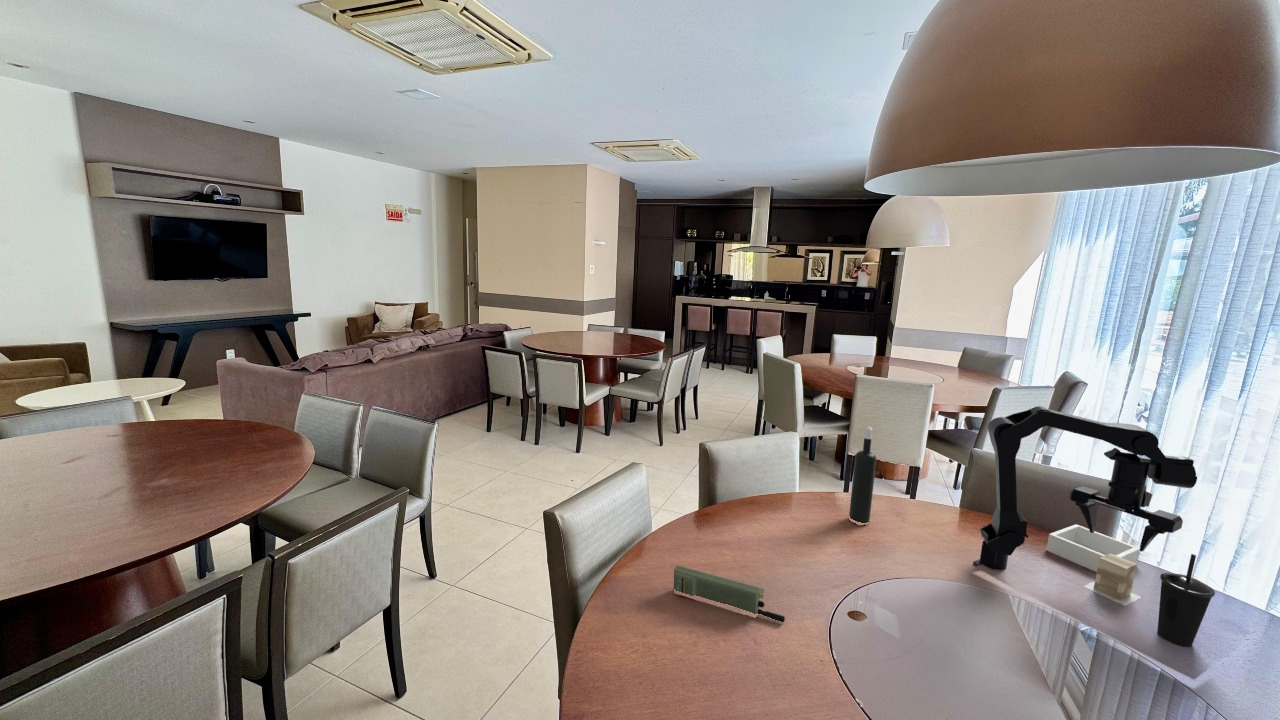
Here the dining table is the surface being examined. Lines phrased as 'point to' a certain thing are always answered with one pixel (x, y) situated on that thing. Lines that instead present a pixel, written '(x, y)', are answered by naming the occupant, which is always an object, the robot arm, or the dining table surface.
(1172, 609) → the drinking cup
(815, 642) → the dining table surface
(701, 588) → the handheld radio
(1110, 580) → the wooden post
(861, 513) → the wine bottle
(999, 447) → the robot arm
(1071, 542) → the white bin
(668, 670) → the dining table surface
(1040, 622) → the dining table surface
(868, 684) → the dining table surface
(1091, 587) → the stud plate
